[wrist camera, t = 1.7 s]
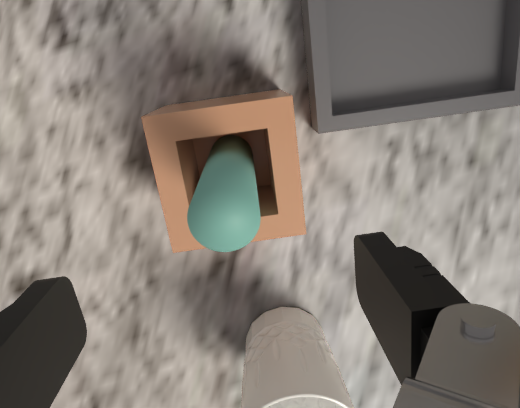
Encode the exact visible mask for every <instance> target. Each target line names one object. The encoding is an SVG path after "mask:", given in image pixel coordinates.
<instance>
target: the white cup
mask: <svg viewBox="0 0 520 408" xmlns="http://www.w3.org/2000/svg"><path fill="white" fill-rule="evenodd" d="M241 408H354V406H353V404H352V401H351V399H350V396H349V393H348V391H347V388H346V385H345V383H344V380H343V378H342V375H341V372H340V370H339V368H338V365H337V363H336V361H335V359H334V356H333V353H332V351H331V349H330V347H329V345H328V343H327V341H326V338H325V336H324V333H323V330H322V328H321V326H320V325H319V324H318V322H317V321H316V319H315V318H314V316H313V315H311V314H309V313H307V312H305V311H303V310H301V309H300V308H292V307H279V308H275V309H272V310H269V311H266V312H264V313H263V314H262V315H261V316H259V317H258V318H257V319H256V320H255V321H254V322H253V323H252V324H251V327H250V329H249V332H248V334H247V337H246V355H245V360H244V369H243V381H242V398H241Z"/></svg>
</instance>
